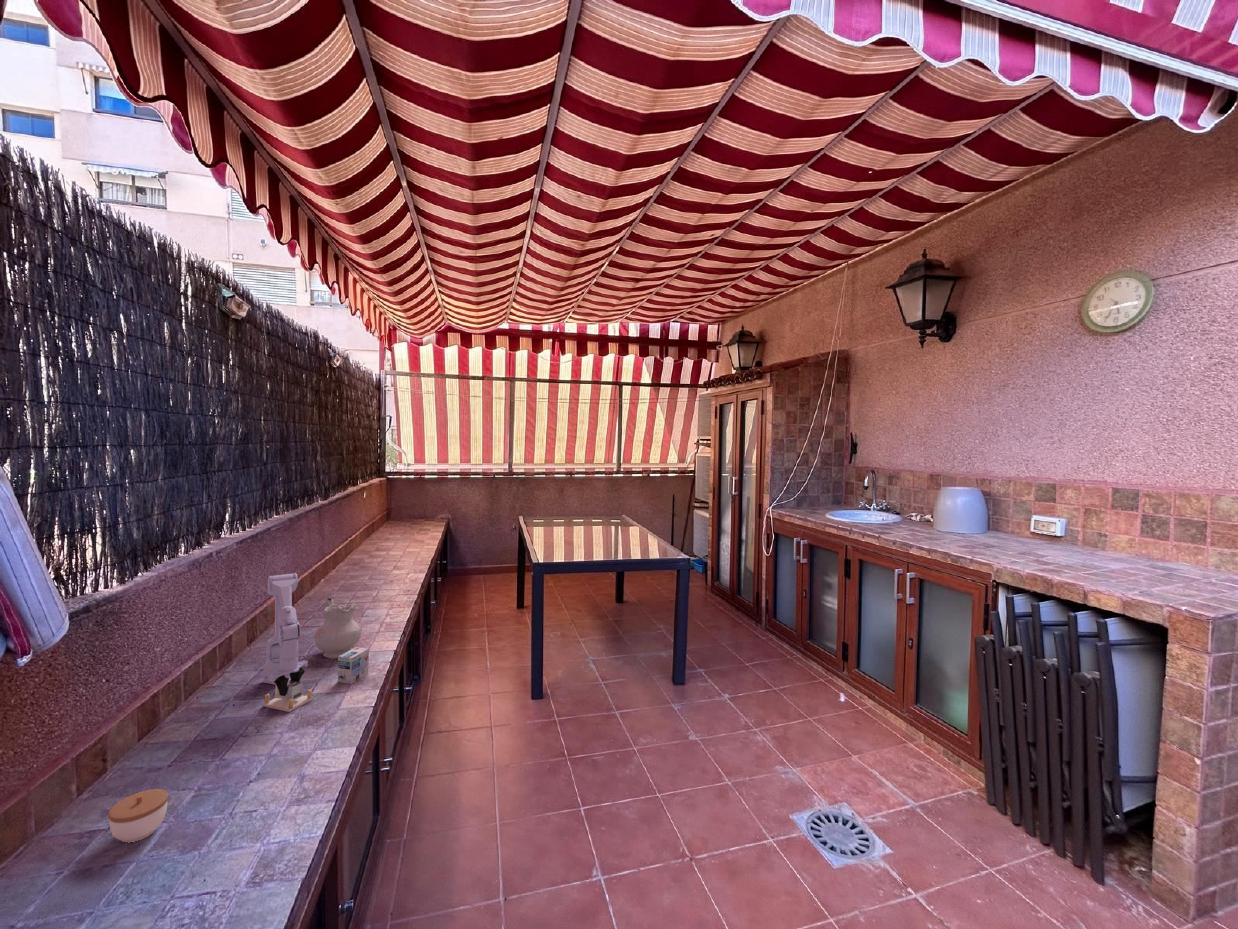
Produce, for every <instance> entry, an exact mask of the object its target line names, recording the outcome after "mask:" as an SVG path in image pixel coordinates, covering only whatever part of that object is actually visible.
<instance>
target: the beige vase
mask: <svg viewBox="0 0 1238 929" xmlns="http://www.w3.org/2000/svg"><path fill="white" fill-rule="evenodd" d="M356 607H357V604H356V603H350V604H348V605H344V604H336V603H334V600H333V597H331V596H330V597H329V596H326V597H325V602H324V608H323V611H322V615H323V617H324V622H323V624H322V625H320V626H319V627H318V628H317V629H316V630H315V632H314V636H313V639H314V644H315V646H316V647H317V649H318V650H320V651H321V652H323V654H322V656H323V657H325V658H329V659H333V660H335V659H336V660H338V656H340V655H342V654H344V653H346V652H348V651H350V650H351V649H353V648H355V647H356V645H357V644H358V643H359V641H360V639H361V636H362V633H363V629H362V626H361V624H360V623H358V622H357V621H355V620H354V618H353V614H354V612H355V610H356Z"/></svg>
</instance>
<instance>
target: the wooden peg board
mask: <svg viewBox="0 0 1238 929" xmlns="http://www.w3.org/2000/svg"><path fill="white" fill-rule="evenodd" d="M312 692H313V691H312V689H307V690H306V695H305V694H304V695H303V694H302V696H301V697H299V698H298V699H296V700H294V701H293V699H289V701H288V700H284V699H279V698H275V697H274V698H272V699H270V695H271V694H270V693H267V694H265V695H264V703H263V706H264V708H265V707H266V708H270V709H275V710H279V711H283V712H287V713H288V712H289V713H291V712H292V711H294V710H296V709H298V708H300V707H301V706H303V705H305V704H307V703H309V702H311V701H312V700H313V695H312Z"/></svg>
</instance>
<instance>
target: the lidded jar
mask: <svg viewBox="0 0 1238 929" xmlns="http://www.w3.org/2000/svg"><path fill="white" fill-rule="evenodd" d="M168 800H169V792H168V791H167V790H165V789H162V788H152V789H146V790H142V791H140V792H136V793H134V794H131V795H129V796H127V797H124V798H123V799H121V800H120V801H118V802H116V803H115V804H114V805H113V806H112V807H111V808H110V810H109V812H108V820H109V829H110V834H112V836H113V837H114V838H115V839H116V840H118V841H121V842H123V843H124V842H126V843H125V844H131V843H130V842H133V843H136V842H135V841H137V842H139V841H142V840H145V839H146V838H148V837H150V836H151V835H152V834H153V833H154V832H156V829H157V828H158V827H159V826H160V825H161V823H162V822H163V820H164V819H165V817H166V813H167V811H168V810H167V809H168V802H169V801H168ZM138 840H139V841H138ZM127 842H128V843H127Z"/></svg>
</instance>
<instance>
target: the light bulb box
mask: <svg viewBox="0 0 1238 929" xmlns="http://www.w3.org/2000/svg"><path fill="white" fill-rule="evenodd" d="M350 649H351V650H350V651H348V652H346V653H344V654H342V655H340V656H338V659H337V682H338V683H343V684H351V685H352V684H353V683H355V682H357V681H358V680H360V679H362V678H363V677H365V676H367V675H369V658H370V656H369V655H370V649H369V648H366V647H359V646H358V647H357V646H354V647H353V648H350Z"/></svg>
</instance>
